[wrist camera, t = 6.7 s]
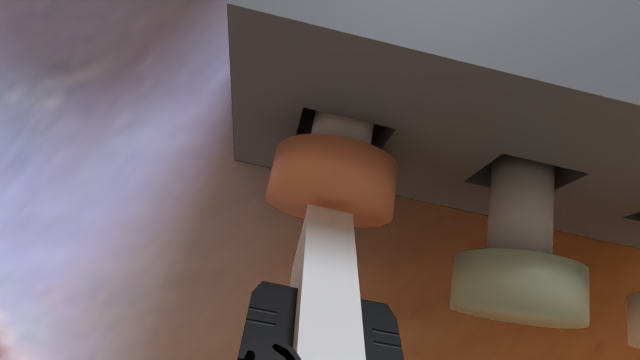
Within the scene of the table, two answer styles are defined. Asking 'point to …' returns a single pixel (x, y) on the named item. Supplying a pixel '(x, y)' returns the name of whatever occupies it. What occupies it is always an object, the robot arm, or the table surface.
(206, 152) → the table surface
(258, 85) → the control box
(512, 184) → the sage button
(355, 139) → the terracotta button
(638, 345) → the ivory button
